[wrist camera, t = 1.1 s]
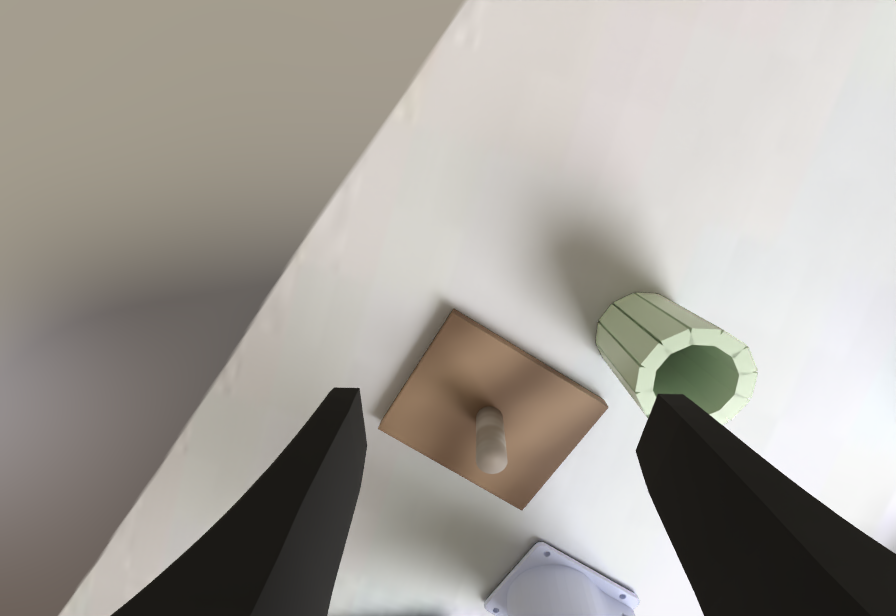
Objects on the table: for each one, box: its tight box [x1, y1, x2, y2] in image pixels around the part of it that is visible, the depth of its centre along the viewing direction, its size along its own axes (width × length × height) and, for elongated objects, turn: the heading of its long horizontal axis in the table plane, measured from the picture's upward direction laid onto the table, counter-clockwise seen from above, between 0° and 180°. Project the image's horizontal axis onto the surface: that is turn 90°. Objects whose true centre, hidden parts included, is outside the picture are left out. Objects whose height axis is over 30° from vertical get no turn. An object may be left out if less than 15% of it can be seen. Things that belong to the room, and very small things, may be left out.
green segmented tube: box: [596, 293, 758, 425], centre depth 23 cm, size 5×5×7 cm
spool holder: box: [378, 309, 608, 510], centre depth 26 cm, size 12×10×6 cm
